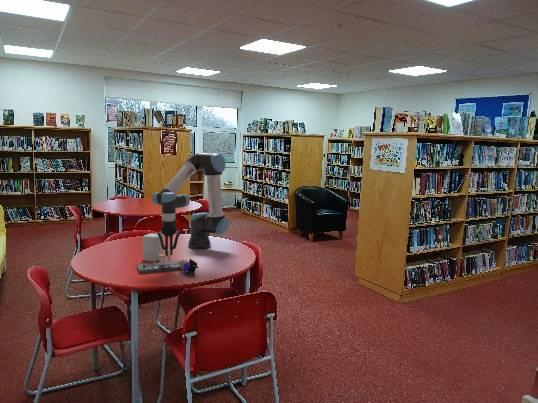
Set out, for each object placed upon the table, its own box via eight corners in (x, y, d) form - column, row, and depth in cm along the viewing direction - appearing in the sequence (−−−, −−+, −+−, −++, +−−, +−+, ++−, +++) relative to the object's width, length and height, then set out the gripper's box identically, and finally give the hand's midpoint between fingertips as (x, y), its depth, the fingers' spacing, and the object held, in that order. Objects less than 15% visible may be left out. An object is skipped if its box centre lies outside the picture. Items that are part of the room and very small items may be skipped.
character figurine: (188, 279, 216) (178, 271, 229) (201, 276, 220) (190, 268, 233) (187, 265, 215) (177, 258, 227) (200, 262, 219) (189, 255, 231)
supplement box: (164, 258, 252) (163, 234, 250) (155, 261, 244) (155, 237, 241) (151, 256, 255) (151, 232, 253) (142, 260, 246) (142, 235, 244)
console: (187, 263, 243) (187, 258, 242) (191, 269, 232) (191, 264, 231) (137, 267, 233) (137, 262, 232) (139, 273, 222) (139, 268, 221)
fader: (165, 263, 233) (165, 254, 233) (165, 265, 231) (165, 255, 230) (159, 264, 232) (159, 254, 231) (159, 265, 230) (159, 255, 229)
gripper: (179, 218, 235) (179, 258, 238) (155, 219, 230) (156, 260, 234) (181, 220, 228) (181, 262, 231) (157, 221, 223) (157, 263, 227)
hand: (168, 261), depth 233 cm, fingers closed
